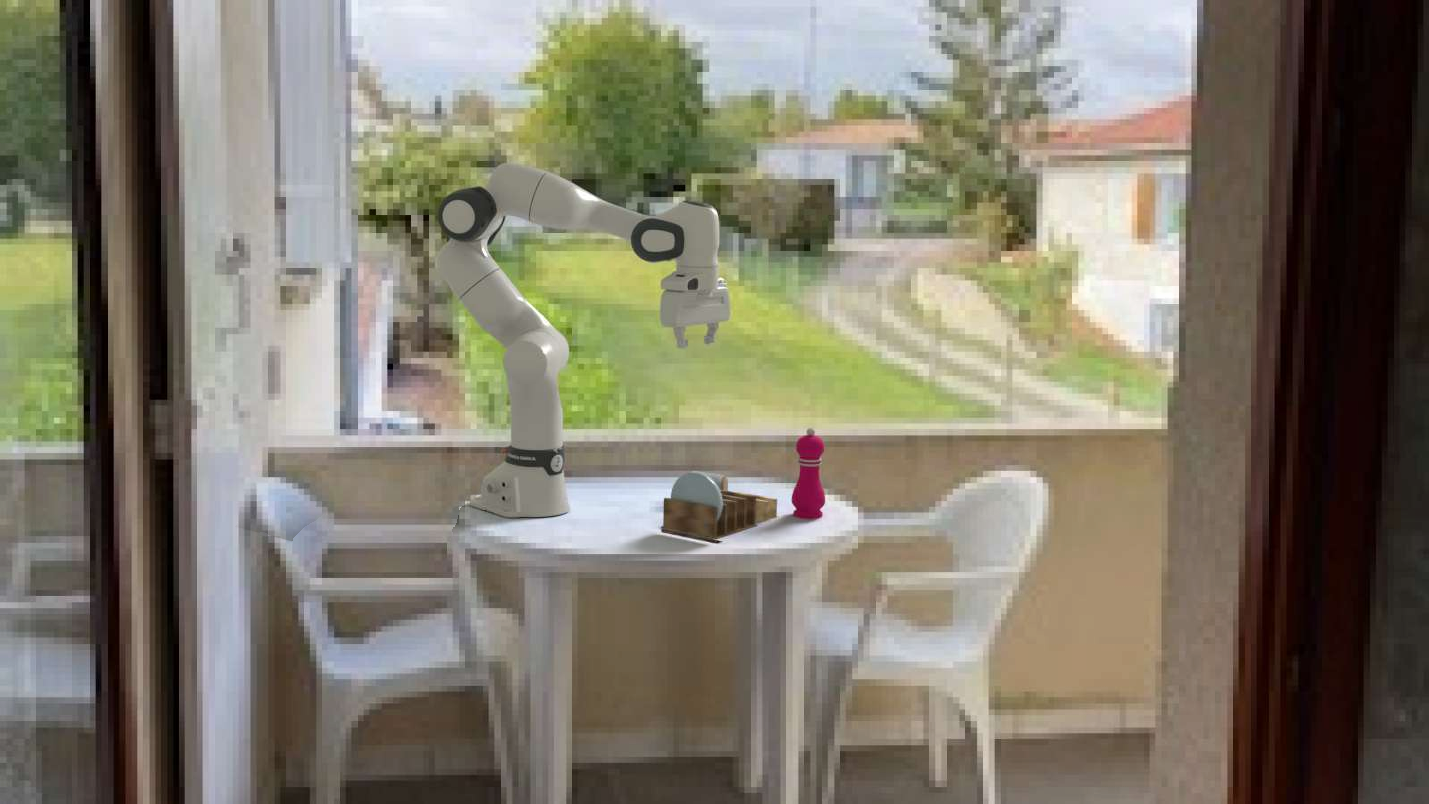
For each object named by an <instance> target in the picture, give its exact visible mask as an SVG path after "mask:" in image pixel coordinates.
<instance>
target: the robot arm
mask: <svg viewBox="0 0 1429 804" xmlns="http://www.w3.org/2000/svg"><path fill="white" fill-rule="evenodd" d="M508 216H510V217H511V216H512V217H516V218H519V219H521V220H525V221H527V222H529V223H532V224H536V225H538V226H542V227H546V228H550V229H554V230H556V229H557V230H564V231H565V230H579V229H580V230H582V229H583V230H595V231H599V232H603V233H604V234H605V233H606V234H609V235H611V236H615V237H618V238H621V239H624V240H625V241H628V242H630V245H631V247H632V251H633V252H634V254H635V255H636V257H637V258H639V259H641V260H643V261H645V262H648V263H650V264H651V263H652V264H659V263H664V262H671V261H673V260H674V261H675V263H676V266H675V267H676V270H674V271H673V272H671V273H670V274H668V275H667V276H666V277H663V278H662V279H661V281H660V289H661V290H663V291H662V293H661V295H660V303H659V304H660V306H659V307H660V308H659V311H660V312H659V317H660V318H659V319H660V322H661V324H662V326H663V327H664V328H671V329H673V330H672V331H673V334H674V337H675V340H676V347H677V349H687V348H688V346H689V344H688V343H689V339H686V336H685V332H686V327H693V326H700V325H701V326H702V325H706V327H707V331H706V335H704V336H703V344H704V345H708V346H709V345H714V344H715V342H716V341H715V339H716V335H717V333H718V329H719V323H725V322H729V320H730V317H731V295H730V292H729V289H728V283H726V281H725V279H723V277H722V278H721V277H719V276H720V275H719V273H720V270H719V269H720V265H719V259H718V252H719V248H720V220H719V214H718V212H717V209H716V208H714V206H712V205H711V204H709V203H705V202H701V201H696V200H694V201H693V200H687V199H685V200H682V201H681V202H680V203H679V204H677V205H676V206H674V207H672V208H669V209H668V210H666V211H664V212H661V213H657V214H645V213H641V212H637V211H634V210H631V209H629V208H625V207H623V206H620V205H617V204H614V203H611V202H609V201H606V200H603V199H602V198H600V197H598V196H596V195H594V194H593V193H590V192H589V191H587V190H586V189H584V188H582V187H581V186H578V185H577V184H575V183H573V182H571V181H569V180H567V179H565V177H561V176H559V175H557V174H555V173H553V172H549V171H547V170H543V169H540V168H537V167H533V166H529V165H525V164H521V163H513V162H503V163H501V164H499V165H498V166H497V167H495V168H494V170H493V171H492V172H491V174H490V176H489V179H488V182H487V183H486V185H485V186H484V187H483V186H478V185H477V186H474V187H471V186H470V187H465V188H463V189H458V190H454V191H452V192H450V193H449V194H447V196H445V197H444V198H443V199H442V201H441V202H440V204H439V207H438V209H437V221H438V224H439V227H440V229H441V230H442V232H443V233H444V234H445V235H446V236H448V237H449V240H448V241H447V242H446V243H444V245H443V246H442V247H441V248H440V250H439V252H438V254H437V257H436V263H437V267H438V269H439V271H440V272H441V273H440V274H441V275H442V277H443V279H444V280H445V282H446V283H447V285H448V286H449V288H450V290H451V291H452V293H453V294H454V295H455V296H456V298H457V299H458V300H459V302H460V303H461V304H462V305H463V307H464V308H465V309H466V310H467V312H468V313H469V314H470V316H471V317H472V318H473V320H475V322H476V323H477V324H478V325H479V327H480V328H481V329H482V331H484V332H486V333H487V334H489V335H490V336H491V337H492V338H493V339H495V340H496V341H497V342H498V343H499V344H500V345H501V346H502V347H504V349H505V351H504V354H503V358H502V367H503V370H504V373H505V379H506V386H507V393H508V400H509V405H510V445H509V446H506V447H502V448H501V450H503V451H501V454H506V455H505V458H504V460H503V462H502V463H501V464H499V465H498V466H497V467H496V468H495V469H493V470H492V471H490V472H489V473H488V474H486V475H485V476H484V478H483V480H482V482H481V489H480V496H476V497H474V498H472V499H471V500H470V501H469V506H471V507H473V508H476V509H480V510H484V511H485V510H488V511H487V512H489V511H490V512H489V513H492V512H493V513H492V514H494V515H498V516H500V517H504V518H522V517H523V518H525V517H527V518H541V517H542V518H543V517H544V518H545V517H552V516H554V517H555V516H559V515H563V514H565V513H568V512H569V511H570V510H571V508H570V505H569V501H568V500H569V499H568V496H567V495H568V494H567V488H566V479H565V471H564V466H565V462H566V451H565V448H566V447H565V445H564V444H563V443H564V441H563V440H564V439H563V438H564V437H563V436H564V434H563V433H564V432H563V431H564V430H563V429H564V410H563V405H562V402H561V397H560V390H559V384H558V383H559V380H558V375H559V374H560V373H561V371H563V370H564V369H565V367H566V366H567V364H568V361H569V358H570V346H569V342H568V340H567V339H566V337H565V336H564V335H563V334H562V333H561V332H560V331H558V330H557V329H556V328H555V326H553V325H552V324H551V323H550V321H548V320H547V318H546V317H544V315H543V314H542V313H541V312H539V310H538V309H536V308H535V307H534V306H533V305H532V304H531V303H530V302H529V301H528V300H527V299H526V298H525V297H524V295H523V294H522V293H521V292H520V291H519V290H518V288H517V287H516V286H515V285H514V283H513V282H512V281H511V280H510V278H509V276H507V275H506V273H505V272H504V271H503V269H502V268H501V267H500V266H499V265H498V263H497V262H496V260H495V259H494V258H493V257H492V255H491V254H490V252H489V250H488V249H489V248H488V246H489V245H491V244H492V243H493V241H494V239H495V238H496V236H497V234H498V233H499V231H500V230H501V229H502V227H503V225H504V223H505V221H506V217H508Z"/></svg>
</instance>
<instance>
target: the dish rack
mask: <svg viewBox="0 0 1429 804" xmlns="http://www.w3.org/2000/svg"><path fill="white" fill-rule="evenodd" d="M720 491H721V494H722V499H723V511H722V515H721V517H720V519H719V521H718V522H717V516H718V507H712V506H707V505H702V504H697V503H692V502H686V501H681V500H676V499H671V497H663V516H662V517H663V518H662V520H663V521H662V522H663V523H662V525H663V526H662V525H661V529H660V531H661V533H663V534H668V535H673V536H678V537H682V538H687V539H693V540H698V541H702V542H707V543H709V544H716V545H718V544H720V543H723V542H724V541H723V540H718V539H721V538H724V537H727V536H730V535H733V534H737V533H739V532H742V531H743V532H744V531H746V530H748V529H751V528H755V527H758V524H756V521H757V520H756V496H753V495H754V494H753V495H748V494H749V493H747V494H742V493H743V492H742V493H737V492H738V491H737V492H736V491H732V490H731V491H730V490H728V491H726V490H720Z"/></svg>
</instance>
